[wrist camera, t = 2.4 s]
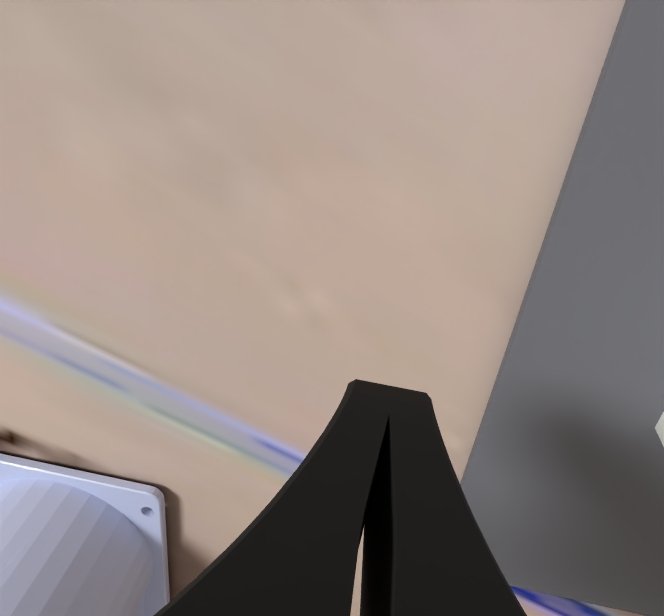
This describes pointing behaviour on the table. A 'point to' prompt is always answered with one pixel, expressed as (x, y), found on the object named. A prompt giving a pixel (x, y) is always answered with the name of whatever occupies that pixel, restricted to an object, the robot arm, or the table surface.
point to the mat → (589, 361)
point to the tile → (660, 428)
